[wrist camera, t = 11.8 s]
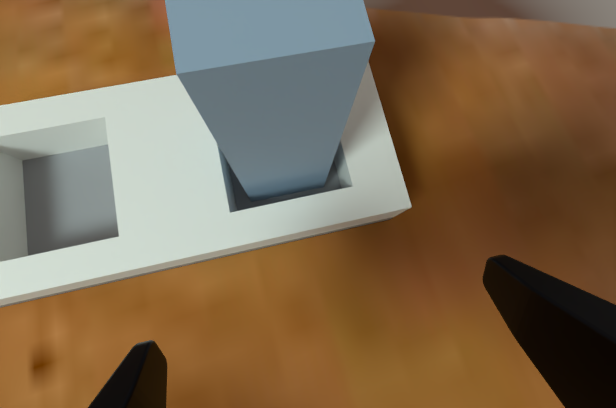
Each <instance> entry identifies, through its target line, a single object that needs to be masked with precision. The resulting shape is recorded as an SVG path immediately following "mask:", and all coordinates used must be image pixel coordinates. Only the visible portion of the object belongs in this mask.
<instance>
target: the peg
mask: <svg viewBox="0 0 616 408" xmlns="http://www.w3.org/2000/svg"><path fill="white" fill-rule="evenodd" d="M165 3H166V10H167V16H168V23H169V29H170V36H171V42H172V49H173V55H174V61H175V68H176V74H177V76H178V77H179V79H180V81H181V83H182V84H183V86H184V88H185V89H186V91H187V93H188V95H189V96H190V98H191V100H192V101H193V103H194V105H195V106H196V108H197V110H198V112H199V113H200V115H201V117H202V118H203V120H204V122H205V124H206V125H207V127H208V129H209V130H210V132H211V134H212V135H213V137H214V139H215V141H216V142H217V144H218V146H219V147H220V149H221V151H222V152H223V154H224V156H225V158H226V159H227V161H228V163H229V164H230V166H231V168H232V170H233V171H234V173H235V175H236V176H237V178H238V180H239V181H240V183H241V185H242V187H243V188H244V190H245V192H246V193H247V195H248V197H249V198H250V200H251V202H253V201H258V200H263V199H268V198H273V197H278V196H283V195H288V194H293V193H298V192H303V191H308V190H313V189H317V188H322V187H324V185H325V182H326V179H327V176H328V173H329V171H330V168H331V165H332V162H333V159H334V156H335V154H336V151H337V148H338V145H339V142H340V139H341V137H342V134H343V131H344V128H345V125H346V122H347V120H348V117H349V114H350V111H351V108H352V105H353V103H354V100H355V97H356V94H357V91H358V88H359V86H360V83H361V80H362V77H363V74H364V71H365V69H366V66H367V63H368V60H369V57H370V54H371V52H372V49H373V46H374V43H375V39H374V36H373V32H372V29H371V25H370V22H369V19H368V15H367V12H366V9H365V5H364V2H363V0H165Z"/></svg>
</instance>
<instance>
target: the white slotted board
mask: <svg viewBox="0 0 616 408" xmlns="http://www.w3.org/2000/svg"><path fill="white" fill-rule="evenodd" d="M411 207H412V206H411V202H410V199H409V196H408V192H407V189H406V186H405V182H404V179H403V176H402V172H401V169H400V166H399V162H398V159H397V155H396V152H395V149H394V145H393V142H392V139H391V135H390V132H389V129H388V125H387V122H386V119H385V115H384V112H383V109H382V105H381V102H380V99H379V95H378V92H377V88H376V85H375V82H374V78H373V75H372V72H371V68H370V65H369V62H368V63H367V66H366V69H365V71H364V74H363V77H362V80H361V83H360V86H359V88H358V91H357V94H356V97H355V100H354V103H353V105H352V108H351V111H350V114H349V117H348V120H347V122H346V125H345V128H344V131H343V134H342V137H341V139H340V142H339V145H338V148H337V151H336V154H335V156H334V159H333V162H332V165H331V168H330V171H329V173H328V176H327V179H326V182H325V185H324V187H322V188H317V189H313V190H308V191H303V192H298V193H293V194H288V195H283V196H278V197H273V198H268V199H263V200H258V201H253V202H251V200H250V198H249V197H248V195H247V193H246V192H245V190H244V188H243V187H242V185H241V183H240V181H239V180H238V178H237V176H236V175H235V173H234V171H233V170H232V168H231V166H230V164H229V163H228V161H227V159H226V158H225V156H224V154H223V152H222V151H221V149H220V147H219V146H218V144H217V142H216V141H215V139H214V137H213V135H212V134H211V132H210V130H209V129H208V127H207V125H206V124H205V122H204V120H203V118H202V117H201V115H200V113H199V112H198V110H197V108H196V106H195V105H194V103H193V101H192V100H191V98H190V96H189V95H188V93H187V91H186V89H185V88H184V86H183V84H182V83H181V81H180V79H179V77H178V76H177V75H173V76H168V77H162V78H156V79H150V80H145V81H139V82H133V83H127V84H122V85H116V86H110V87H104V88H99V89H93V90H87V91H82V92H76V93H70V94H64V95H59V96H53V97H47V98H41V99H36V100H30V101H24V102H18V103H13V104H7V105H1V106H0V307H5V306H9V305H13V304H18V303H22V302H27V301H31V300H36V299H40V298H44V297H49V296H53V295H58V294H62V293H66V292H71V291H75V290H80V289H84V288H89V287H93V286H97V285H102V284H106V283H111V282H115V281H120V280H124V279H128V278H133V277H137V276H142V275H146V274H150V273H155V272H159V271H164V270H168V269H173V268H177V267H181V266H186V265H190V264H195V263H199V262H204V261H208V260H212V259H217V258H221V257H226V256H230V255H234V254H239V253H243V252H248V251H252V250H257V249H261V248H265V247H270V246H274V245H279V244H283V243H288V242H292V241H296V240H301V239H305V238H310V237H314V236H318V235H323V234H327V233H332V232H336V231H341V230H345V229H349V228H354V227H358V226H363V225H367V224H372V223H376V222H380V221H385V220H389V219H391V218H393V217H395V216H397V215H399V214H400V213H402V212H404V211H406V210H408V209H409V208H411Z"/></svg>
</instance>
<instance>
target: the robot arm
mask: <svg viewBox="0 0 616 408" xmlns="http://www.w3.org/2000/svg"><path fill="white" fill-rule="evenodd" d="M483 284H484V286H485V288H486V290H487V292H488V293H489V295H490V297H491V299H492V300H493V302H494V304H495V305H496V307H497V309H498V311H499V312H500V314H501V316H502V317H503V319H504V321H505V323H506V324H507V326H508V328H509V329H510V331H511V333H512V334H513V336H514V337H515V339H516V340H517V342H518V343H519V345H520V346H521V347H522V349H523V350H524V351H525V353H526V354H527V356H528V357H529V358H530V360H531V361H532V363H533V364H534V365H535V367H536V368H537V369H538V371H539V372H540V374H541V375H542V376H543V378H544V379H545V380H546V382H547V383H548V385H549V386H550V387H551V389H552V390H553V392H554V393H555V394H556V396H557V397H558V398H559V400H560V401H561V403H562V404H563V405H564V407H565V408H616V305H615V304H612V303H610V302H608V301H606V300H603V299H601V298H599V297H597V296H595V295H592V294H590V293H588V292H586V291H584V290H581V289H579V288H577V287H575V286H573V285H570V284H568V283H566V282H564V281H561V280H559V279H557V278H555V277H553V276H550V275H548V274H546V273H544V272H542V271H539V270H537V269H535V268H533V267H531V266H528V265H526V264H524V263H522V262H519V261H517V260H515V259H513V258H511V257H508V256H506V255H498V256H494V257H490V258H489V259H488V260H487V262H486V266H485V270H484V274H483ZM166 390H167V361H166V358H165V356H164V355H163V353H162V352H161V350H160V349H159V347H158V346H157V344H156V343H155V342H154V341H152V340H149V341H145V342H141V343H138V344H136V345H135V346H133V348H132V349H131V350H130V352H129V353H128V354H127V356H126V357H125V358H124V360H123V361H122V362H121V364H120V365H119V366H118V368H117V369H116V370H115V372H114V373H113V374H112V376H111V377H110V379H109V380H108V381H107V383H106V384H105V385H104V387H103V388H102V389H101V391H100V392H99V393H98V395H97V396H96V397H95V399H94V400H93V401H92V403H91V404H90V405H89V407H88V408H166Z"/></svg>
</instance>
